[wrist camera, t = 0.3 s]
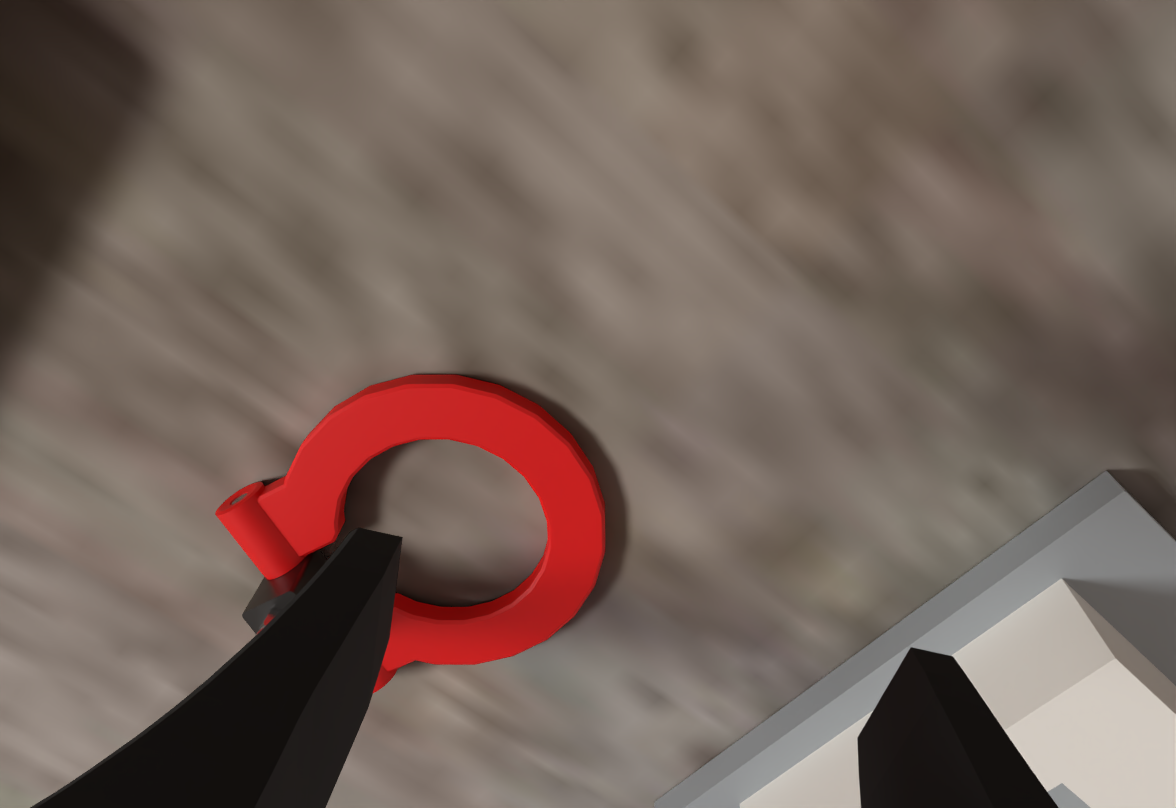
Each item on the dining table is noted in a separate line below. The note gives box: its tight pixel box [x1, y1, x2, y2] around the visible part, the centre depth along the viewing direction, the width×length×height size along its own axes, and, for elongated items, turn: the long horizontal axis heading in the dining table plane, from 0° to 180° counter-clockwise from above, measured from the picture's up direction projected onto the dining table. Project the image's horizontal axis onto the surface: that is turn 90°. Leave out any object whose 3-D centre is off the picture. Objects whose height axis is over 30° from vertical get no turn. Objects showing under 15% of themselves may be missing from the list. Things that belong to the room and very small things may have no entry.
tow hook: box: [215, 375, 605, 693], centre depth 19 cm, size 8×13×9 cm
